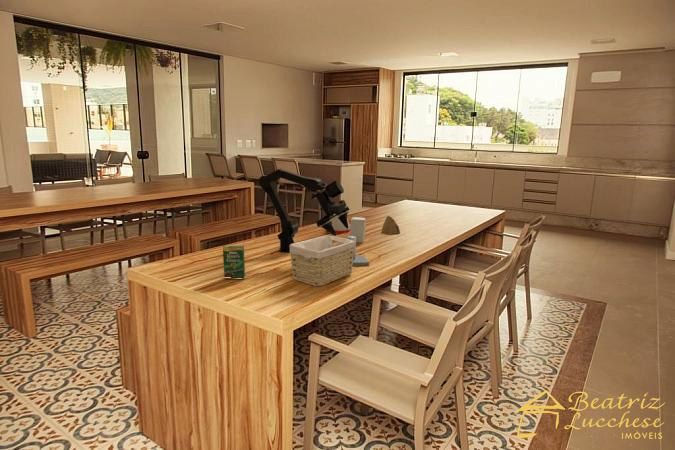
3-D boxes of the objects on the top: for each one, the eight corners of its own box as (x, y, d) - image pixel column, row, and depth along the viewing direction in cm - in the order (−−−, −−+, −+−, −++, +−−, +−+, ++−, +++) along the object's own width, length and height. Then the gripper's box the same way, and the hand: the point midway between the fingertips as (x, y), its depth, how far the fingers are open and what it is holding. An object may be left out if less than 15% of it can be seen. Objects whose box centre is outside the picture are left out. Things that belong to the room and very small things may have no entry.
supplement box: (363, 243, 235) (364, 220, 233) (349, 241, 237) (350, 219, 234) (365, 239, 243) (366, 217, 240) (351, 238, 244) (352, 216, 241)
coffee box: (223, 279, 170) (222, 246, 168) (224, 277, 173) (224, 245, 170) (243, 280, 170) (243, 247, 168) (245, 277, 173) (244, 245, 170)
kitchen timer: (336, 227, 273) (336, 203, 270) (354, 230, 265) (355, 206, 262) (322, 231, 262) (322, 206, 259) (341, 234, 254) (341, 209, 251)
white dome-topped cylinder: (345, 259, 198) (345, 237, 196) (346, 256, 202) (346, 235, 200) (354, 259, 197) (355, 238, 195) (355, 257, 202) (356, 236, 200)
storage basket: (318, 289, 163) (318, 251, 160) (287, 279, 172) (287, 243, 170) (355, 274, 181) (357, 240, 178) (325, 266, 191) (326, 234, 188)
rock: (404, 228, 264) (390, 224, 270) (402, 219, 258) (387, 214, 264) (395, 241, 259) (381, 236, 265) (392, 231, 253) (378, 227, 259)
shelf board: (338, 266, 192) (338, 262, 192) (333, 258, 204) (333, 255, 203) (368, 265, 194) (369, 262, 194) (362, 258, 206) (362, 255, 206)
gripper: (322, 203, 192) (340, 233, 192) (348, 190, 205) (364, 219, 205) (308, 212, 200) (325, 241, 200) (334, 199, 213) (349, 226, 213)
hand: (341, 231), depth 205 cm, fingers open, 9 cm apart
